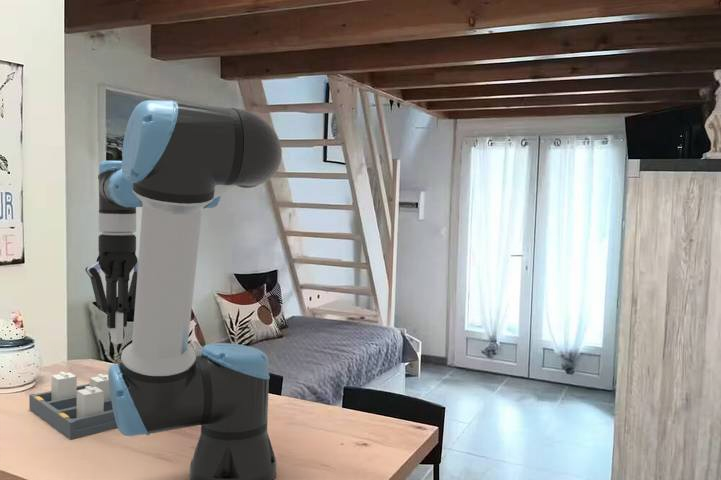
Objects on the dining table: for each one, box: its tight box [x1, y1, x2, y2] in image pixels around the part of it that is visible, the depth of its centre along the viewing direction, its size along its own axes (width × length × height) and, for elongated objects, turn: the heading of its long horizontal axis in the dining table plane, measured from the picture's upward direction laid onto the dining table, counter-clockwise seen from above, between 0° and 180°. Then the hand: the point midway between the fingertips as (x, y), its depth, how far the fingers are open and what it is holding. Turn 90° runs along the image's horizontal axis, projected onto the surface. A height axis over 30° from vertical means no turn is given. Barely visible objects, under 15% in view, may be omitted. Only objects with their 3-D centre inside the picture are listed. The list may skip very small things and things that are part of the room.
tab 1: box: [77, 386, 104, 418], centre depth 130 cm, size 4×4×7 cm
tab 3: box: [50, 371, 78, 401], centre depth 139 cm, size 4×4×7 cm
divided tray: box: [28, 383, 118, 440], centre depth 136 cm, size 23×15×4 cm, turn 47°
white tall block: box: [89, 373, 111, 401], centre depth 139 cm, size 4×4×7 cm
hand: (117, 342), depth 133 cm, fingers closed
